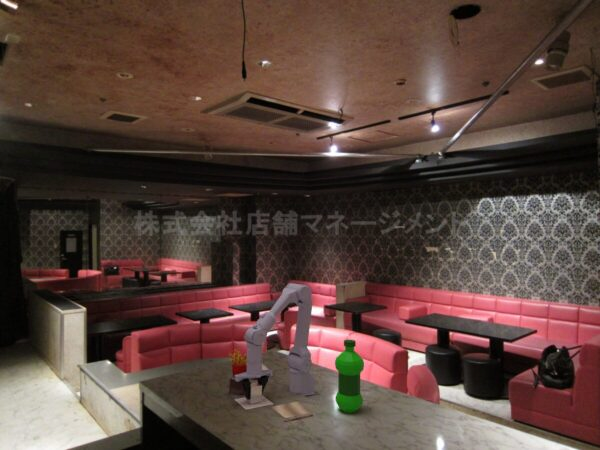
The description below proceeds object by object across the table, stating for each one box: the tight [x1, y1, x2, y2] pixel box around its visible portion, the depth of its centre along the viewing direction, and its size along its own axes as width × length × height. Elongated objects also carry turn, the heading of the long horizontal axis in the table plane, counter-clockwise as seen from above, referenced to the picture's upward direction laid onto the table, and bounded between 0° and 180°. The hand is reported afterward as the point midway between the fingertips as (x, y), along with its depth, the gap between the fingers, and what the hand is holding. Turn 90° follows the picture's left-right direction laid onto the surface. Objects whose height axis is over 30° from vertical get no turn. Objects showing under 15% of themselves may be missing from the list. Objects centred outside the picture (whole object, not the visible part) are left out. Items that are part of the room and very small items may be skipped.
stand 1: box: [234, 395, 274, 410], centre depth 157 cm, size 11×11×2 cm
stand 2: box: [271, 401, 314, 424], centre depth 150 cm, size 11×11×2 cm
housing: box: [246, 381, 263, 404], centre depth 157 cm, size 4×4×6 cm
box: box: [229, 375, 245, 396], centre depth 167 cm, size 6×6×7 cm
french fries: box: [228, 349, 247, 377], centre depth 176 cm, size 9×8×15 cm
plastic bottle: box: [334, 339, 365, 414], centre depth 154 cm, size 10×10×25 cm
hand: (253, 397), depth 157 cm, fingers closed on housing, 4 cm apart
